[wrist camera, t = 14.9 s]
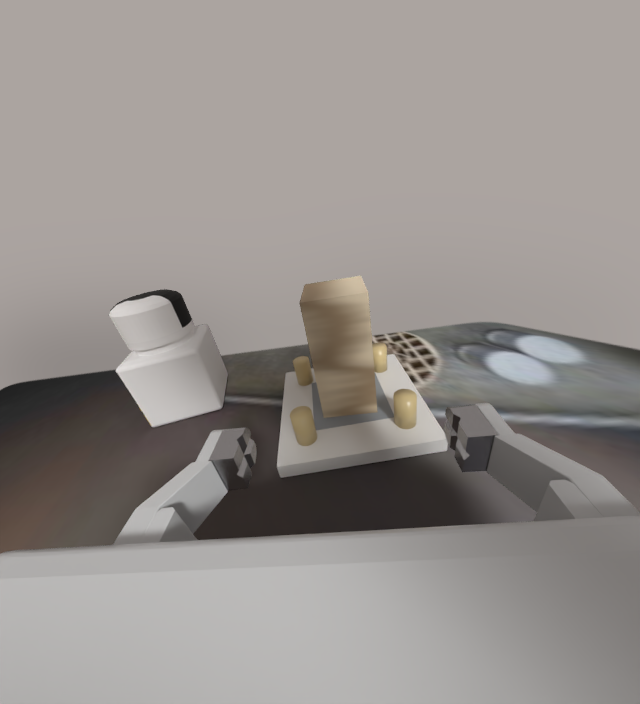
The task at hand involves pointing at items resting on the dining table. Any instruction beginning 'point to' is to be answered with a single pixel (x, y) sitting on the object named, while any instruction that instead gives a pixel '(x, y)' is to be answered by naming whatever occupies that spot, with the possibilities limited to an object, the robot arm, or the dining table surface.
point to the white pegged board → (354, 422)
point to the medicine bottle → (168, 358)
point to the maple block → (340, 345)
